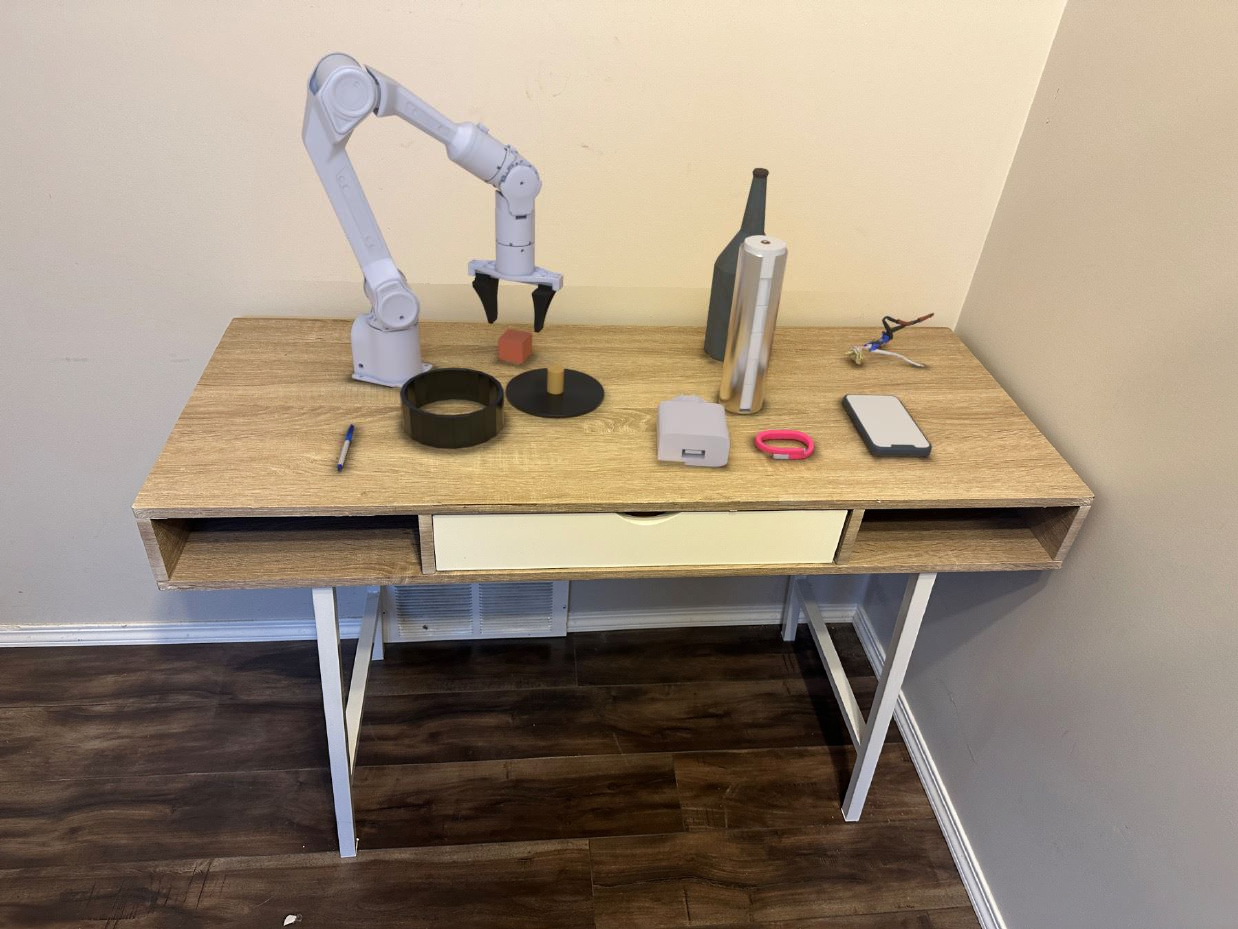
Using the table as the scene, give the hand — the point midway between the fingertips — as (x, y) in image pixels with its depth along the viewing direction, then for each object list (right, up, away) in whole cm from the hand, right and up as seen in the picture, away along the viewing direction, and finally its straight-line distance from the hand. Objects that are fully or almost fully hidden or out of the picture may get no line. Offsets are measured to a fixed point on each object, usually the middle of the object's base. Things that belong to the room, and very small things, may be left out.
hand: (515, 325), depth 139 cm
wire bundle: (+59, -4, +12) cm, 61 cm away
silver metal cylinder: (+34, -12, -4) cm, 36 cm away
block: (0, -5, +3) cm, 6 cm away
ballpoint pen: (-20, -20, -21) cm, 35 cm away
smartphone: (+54, -16, -8) cm, 57 cm away
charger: (+26, -18, -13) cm, 34 cm away
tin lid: (+6, -11, -7) cm, 14 cm away
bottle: (+35, -3, +9) cm, 36 cm away
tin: (-7, -16, -15) cm, 23 cm away
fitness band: (+39, -19, -14) cm, 45 cm away
